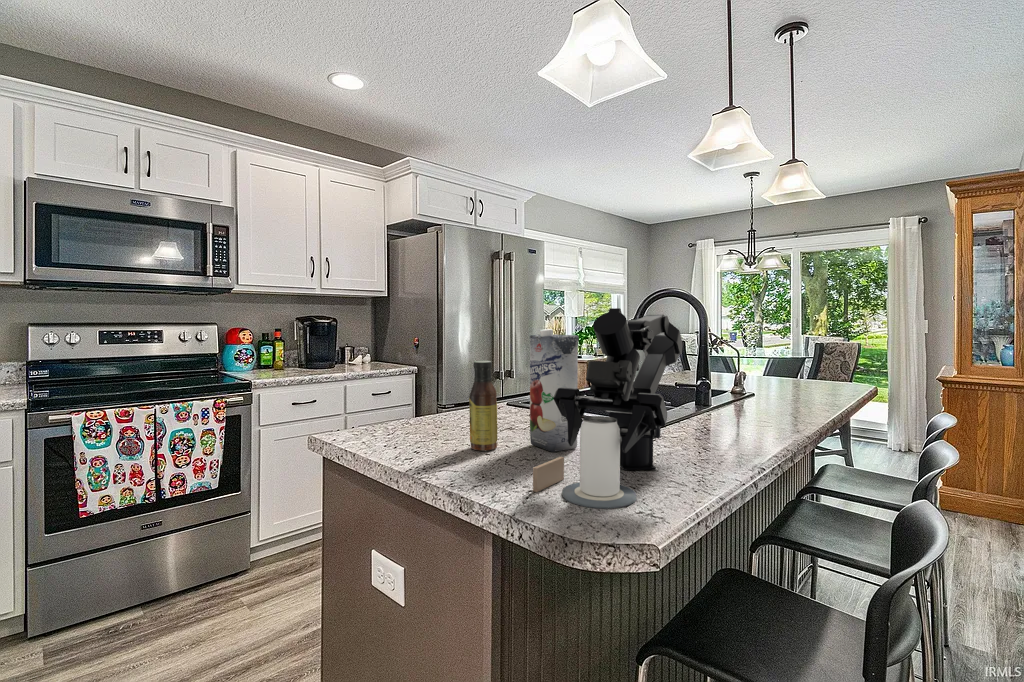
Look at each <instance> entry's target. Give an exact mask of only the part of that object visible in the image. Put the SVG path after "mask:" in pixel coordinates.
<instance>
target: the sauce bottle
mask: <svg viewBox="0 0 1024 682" xmlns="http://www.w3.org/2000/svg"><path fill="white" fill-rule="evenodd" d="M473 371H474V372H473V373H474V378H473V380H474V381H473V384H472V386H471V390H470V393H469V395H468V396H469V397H468V400H469V401H468V402H469V403H468V404H469V405H468V406H469V407H468V408H469V409H468V411H469V442H470V448H471V449H472V450H475V451H481V452H490V451H492V450H493V451H494V450H496V449H497V447H498V440H499V439H498V401H497V389H496V388H495V386H494V384H493V383H492V361H491V360H475V361H473Z"/></svg>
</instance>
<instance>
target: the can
mask: <svg viewBox="0 0 1024 682" xmlns="http://www.w3.org/2000/svg"><path fill="white" fill-rule="evenodd" d="M582 419H583V422H582V425H581V427H580V430H579V482H580V490H581V491H582V492H583V493H584V494H586V495H589V496H593V497H612V496H615V495H616V494H617V493H618V492H619V490H620V485H621V467H620V428H619V426H618V424H617V419H616V418H612V417H609V416H606V415H605V416H603V415H592V416H585V417H582Z"/></svg>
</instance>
